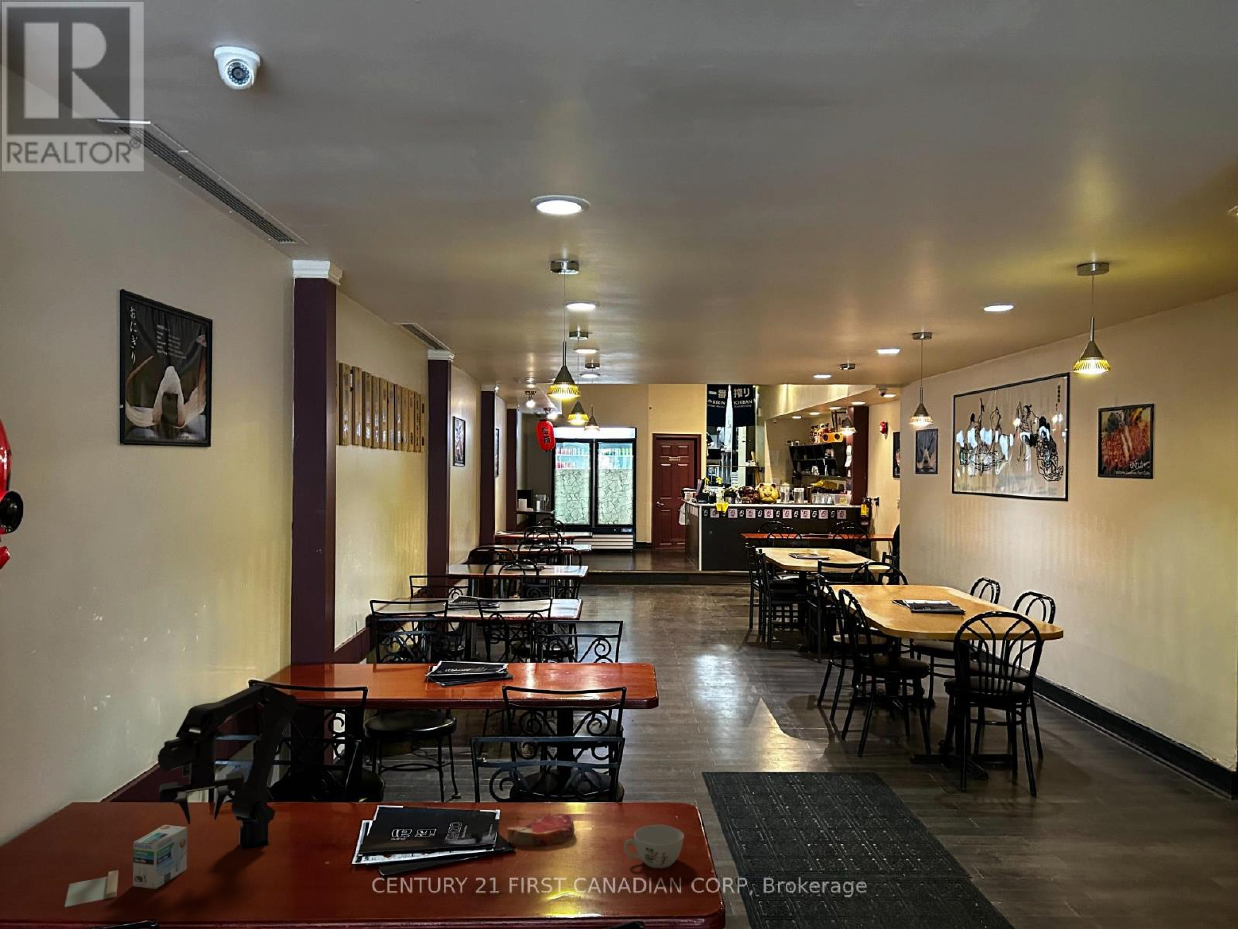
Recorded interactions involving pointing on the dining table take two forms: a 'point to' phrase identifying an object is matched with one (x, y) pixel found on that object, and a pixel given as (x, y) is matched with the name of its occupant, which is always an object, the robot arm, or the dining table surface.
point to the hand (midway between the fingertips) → (202, 821)
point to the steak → (543, 831)
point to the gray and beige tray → (92, 890)
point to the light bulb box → (159, 856)
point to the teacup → (656, 845)
